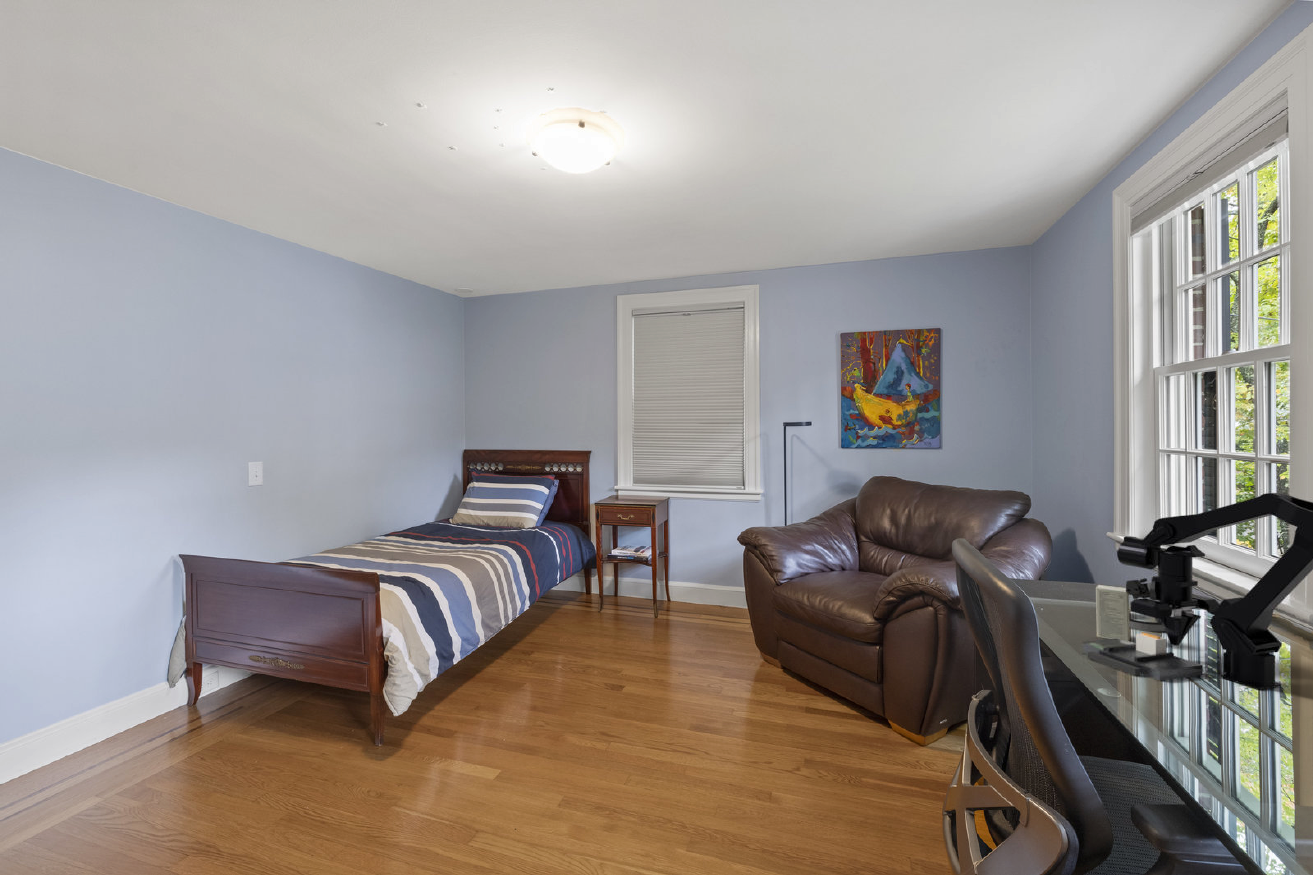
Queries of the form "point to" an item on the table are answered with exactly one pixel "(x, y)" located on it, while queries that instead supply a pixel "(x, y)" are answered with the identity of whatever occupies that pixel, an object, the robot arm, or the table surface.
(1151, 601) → the robot arm
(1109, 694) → the table surface
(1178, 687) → the table surface
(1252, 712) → the table surface
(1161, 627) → the headset
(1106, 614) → the skincare box
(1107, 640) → the dark grey bar far
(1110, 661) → the dark grey bar
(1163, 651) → the breaker lever
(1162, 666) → the panel
